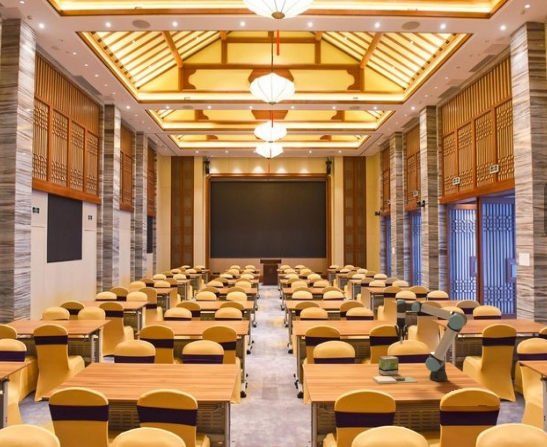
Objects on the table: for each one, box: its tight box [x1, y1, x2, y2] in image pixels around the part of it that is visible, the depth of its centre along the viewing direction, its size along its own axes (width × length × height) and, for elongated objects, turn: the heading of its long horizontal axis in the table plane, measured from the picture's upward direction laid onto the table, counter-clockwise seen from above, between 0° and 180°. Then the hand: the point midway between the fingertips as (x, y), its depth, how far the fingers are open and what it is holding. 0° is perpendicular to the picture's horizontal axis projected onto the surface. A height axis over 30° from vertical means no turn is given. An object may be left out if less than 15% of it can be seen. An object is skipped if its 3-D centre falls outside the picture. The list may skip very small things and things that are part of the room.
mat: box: [396, 376, 418, 384], centre depth 419 cm, size 18×14×1 cm
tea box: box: [378, 355, 399, 376], centre depth 440 cm, size 15×10×15 cm, turn 112°
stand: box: [372, 375, 397, 385], centre depth 416 cm, size 16×14×2 cm
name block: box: [391, 376, 405, 381], centre depth 418 cm, size 9×6×2 cm, turn 99°
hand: (401, 344), depth 428 cm, fingers closed
